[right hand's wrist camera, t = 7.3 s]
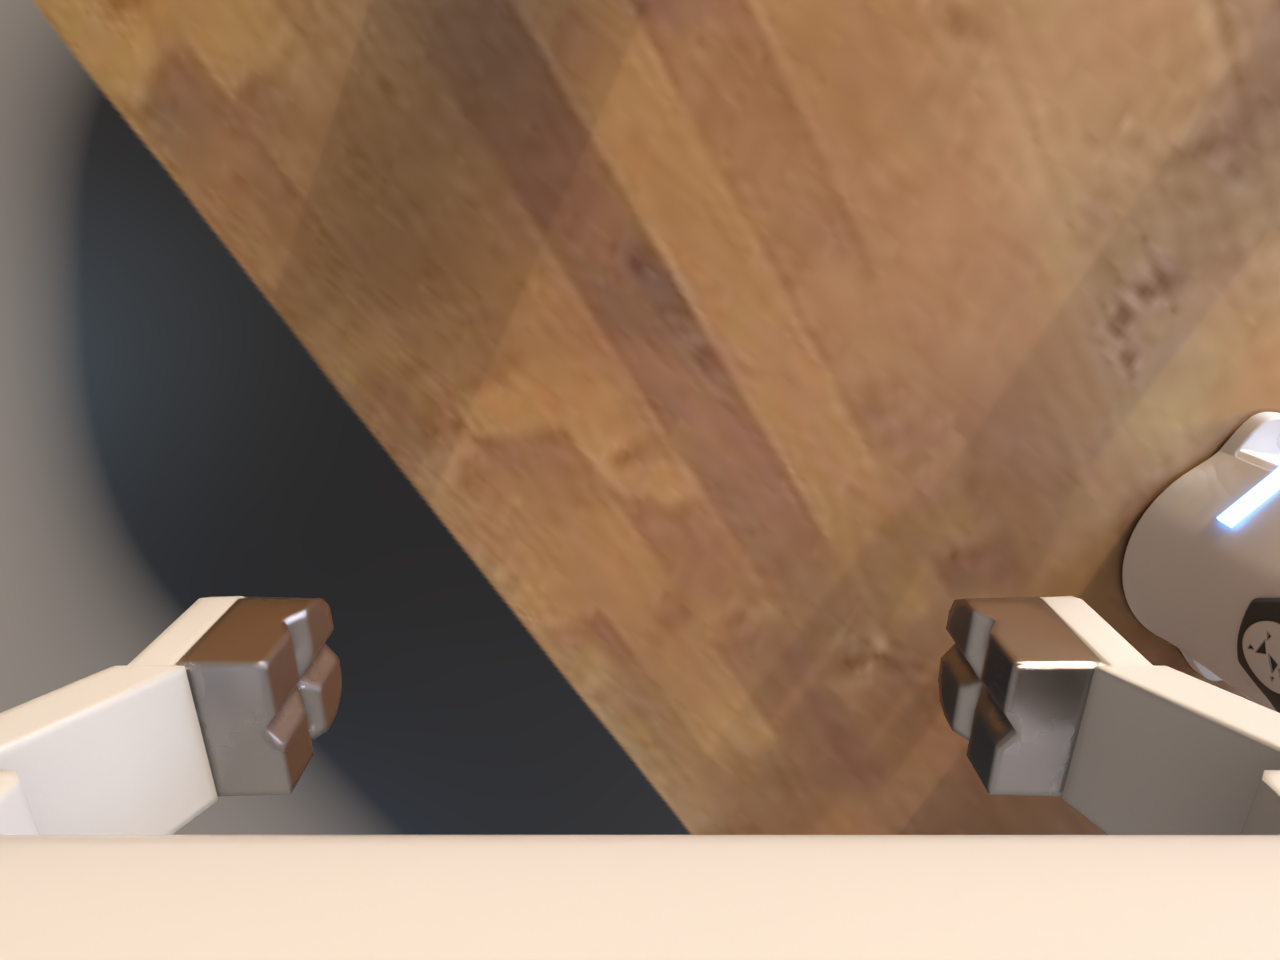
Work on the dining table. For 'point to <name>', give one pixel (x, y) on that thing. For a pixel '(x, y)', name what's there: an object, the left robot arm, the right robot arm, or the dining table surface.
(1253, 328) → the dining table surface
